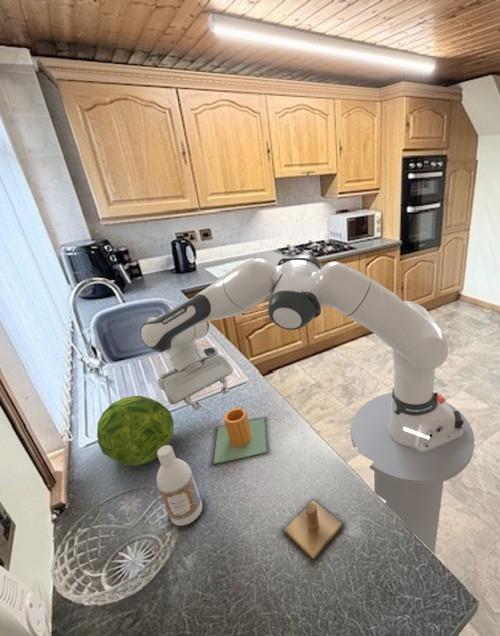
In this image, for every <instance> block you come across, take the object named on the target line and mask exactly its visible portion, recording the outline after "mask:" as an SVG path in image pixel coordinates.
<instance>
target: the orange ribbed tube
mask: <svg viewBox="0 0 500 636" xmlns="http://www.w3.org/2000/svg"><path fill="white" fill-rule="evenodd" d="M223 421H224V424H225V425H224V426H226V429H227V433H228V437H229V441H230V444H231V445H232V446H234V447H241V446H244V445H246V444H247V443H249V441H250V440H251V432H250V427H249V422H248V421H249V417H248V414H247V411H246V409H244V408H242V407H235V408H232V409H229V410H228V411H226V413H225V414H224V415H223Z"/></svg>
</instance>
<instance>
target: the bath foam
mask: <svg viewBox="0 0 500 636" xmlns="http://www.w3.org/2000/svg"><path fill="white" fill-rule="evenodd" d="M157 455H158V457H157V458H158V461H159V462H160V466H159V469H158V471H157V474H156V485H157V490H158V491H159V494H160V497H161V499H162V502H163V504H164V506H165V509H166V511H167V513H168V516H169V518H170V521H171V522H172V524H174V525H176V526H179V527H181V526H182V527H183V526H187V525H189V524H191V523H193V522H194V521H195V520H196V519H198V518H199V516H200V515H201V512H202V509H203V502H202V499H201V495H200V493H199V490H198V487H197V484H196V481H195V477H194V475H193V472H192V469H191V467H190V466H189V464H188V462H186V461H184V460H182V459H180V458H178V457H176V454H175V452H174V449H173V446H172V445H170V444H169V445H166V446H163V447H161V448H160V449H159V450H158V451H157Z"/></svg>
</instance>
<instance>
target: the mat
mask: <svg viewBox="0 0 500 636" xmlns="http://www.w3.org/2000/svg"><path fill="white" fill-rule="evenodd" d="M265 420H266V419H265V418H258V419H253V420H248V422H249V427H250V432H251V440H250V441H249V443H247V444H246V445H244V446H241V447H234V446H232V445H231V444H230V441H229V437H228V433H227V429H226V425H223V426H218V427H217V430H216V431H217V432H216V441H215V448H214V449H215V450H214V458H213V459H214V460H213V464H214V465H216V464H221V463H226V462H230V461H235V460H239V459H245V458H248V457H254V456H257V455H262V454H267V453H268V451H267V438H266V437H267V436H266V423H265Z"/></svg>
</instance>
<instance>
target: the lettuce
mask: <svg viewBox="0 0 500 636" xmlns="http://www.w3.org/2000/svg"><path fill="white" fill-rule="evenodd" d="M96 429H97V430H96V437H97V444H98V446H99V448H100V450H101V452H102V454H103V455H105V456H106V457H109V458H110V459H111V460H113V461H115V462H117V463H121V464H122V465H125V466H129V467H130V466H132V467H140V466H143V465H146V464H150V463H151V462H152V461H154V460H156V459H157V458H158V455H157V451H158V450H159V449H160V448H161V447H163V446H166V445H170V443H171V441H172V438H173V436H174V418H173V416H172V414H171V411H170V410H169V409H168V408H167V407H166V406H165V405H164V404H162V403H160V401H157V400H155V399H153V398H150V397H146V396H141V395H134V396H133V395H132V396H125V397H122V398H120V399H119V400H116V401H115V402H112V403H111V404H110V405H109V406H108V407H107V408H106V409H105V410H104V411H103V412H102V414H101V416H100V418H99V420H98V421H97V428H96Z"/></svg>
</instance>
